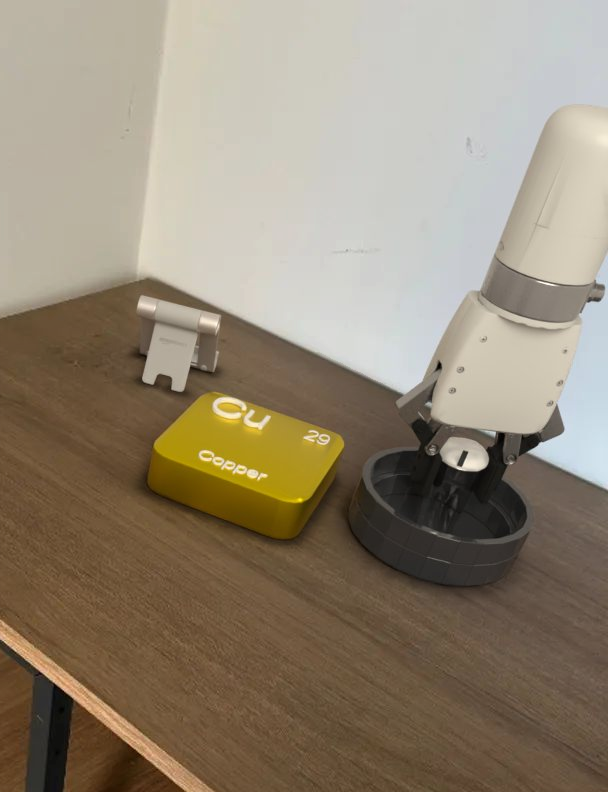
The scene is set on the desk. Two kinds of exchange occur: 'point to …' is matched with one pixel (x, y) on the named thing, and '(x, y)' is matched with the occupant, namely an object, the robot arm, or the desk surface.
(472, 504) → the pan
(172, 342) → the tablet stand
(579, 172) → the robot arm
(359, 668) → the desk surface
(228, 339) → the desk surface
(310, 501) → the element tile
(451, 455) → the milkshake
